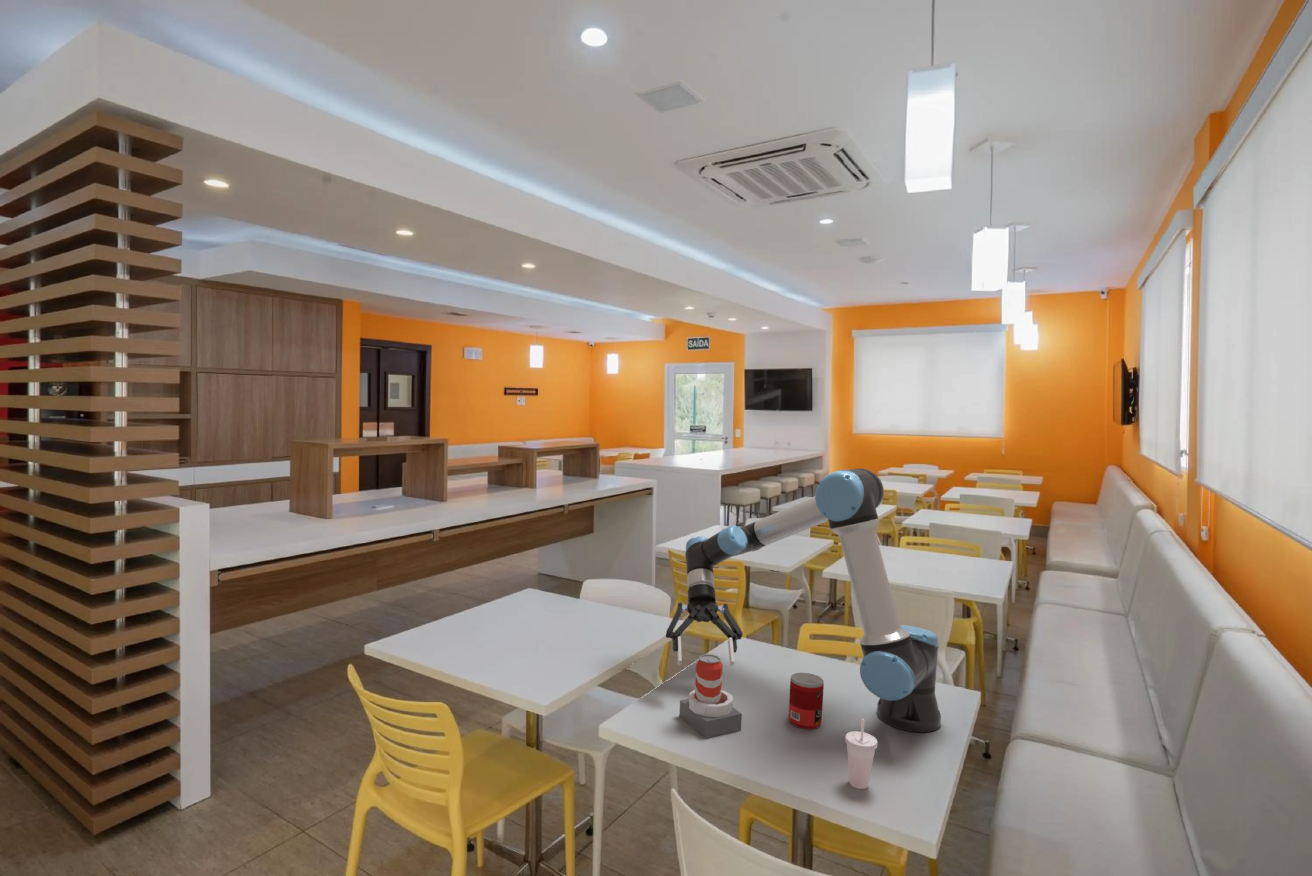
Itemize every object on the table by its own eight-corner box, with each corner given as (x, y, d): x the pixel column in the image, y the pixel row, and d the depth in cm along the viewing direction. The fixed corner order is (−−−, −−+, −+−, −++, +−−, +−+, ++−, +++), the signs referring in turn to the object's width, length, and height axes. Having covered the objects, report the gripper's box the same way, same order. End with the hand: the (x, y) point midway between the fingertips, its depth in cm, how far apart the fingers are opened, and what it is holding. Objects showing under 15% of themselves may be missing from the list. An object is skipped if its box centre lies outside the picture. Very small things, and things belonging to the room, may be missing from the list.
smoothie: (844, 790, 137) (848, 723, 137) (841, 773, 144) (844, 709, 143) (877, 794, 136) (881, 727, 136) (872, 777, 143) (876, 712, 142)
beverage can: (700, 714, 160) (702, 664, 159) (691, 702, 166) (693, 654, 165) (724, 711, 162) (726, 662, 161) (714, 700, 168) (716, 652, 167)
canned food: (822, 731, 162) (824, 687, 161) (788, 727, 164) (790, 682, 163) (820, 717, 170) (823, 674, 169) (788, 713, 171) (790, 670, 171)
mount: (741, 730, 161) (743, 703, 161) (704, 738, 156) (706, 711, 156) (714, 709, 172) (715, 683, 171) (678, 716, 167) (679, 690, 166)
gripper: (743, 597, 191) (751, 670, 177) (655, 594, 190) (656, 668, 176) (747, 583, 186) (756, 658, 172) (657, 581, 184) (658, 656, 170)
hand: (706, 663), depth 174 cm, fingers open, 13 cm apart
